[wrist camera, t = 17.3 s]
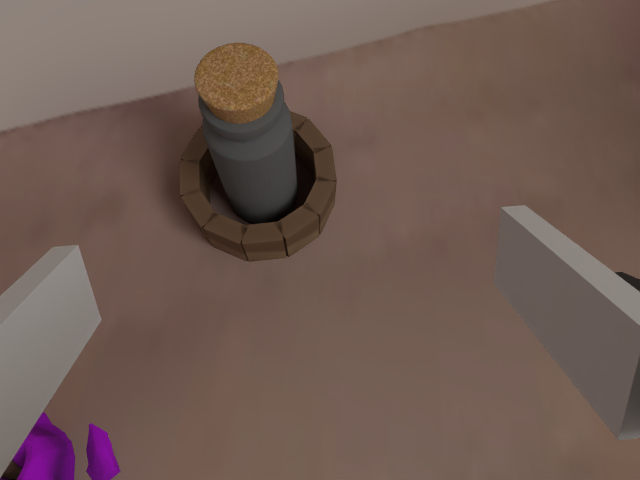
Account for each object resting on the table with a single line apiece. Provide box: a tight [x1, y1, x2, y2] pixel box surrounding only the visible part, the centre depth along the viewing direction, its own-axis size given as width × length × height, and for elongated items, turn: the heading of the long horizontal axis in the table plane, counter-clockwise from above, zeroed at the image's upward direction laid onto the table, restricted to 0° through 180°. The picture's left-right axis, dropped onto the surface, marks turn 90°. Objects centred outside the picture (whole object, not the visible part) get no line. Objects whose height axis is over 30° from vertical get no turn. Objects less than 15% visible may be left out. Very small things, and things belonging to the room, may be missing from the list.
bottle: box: [195, 43, 297, 224], centre depth 34 cm, size 6×6×15 cm
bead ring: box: [180, 111, 337, 261], centre depth 39 cm, size 12×12×4 cm
